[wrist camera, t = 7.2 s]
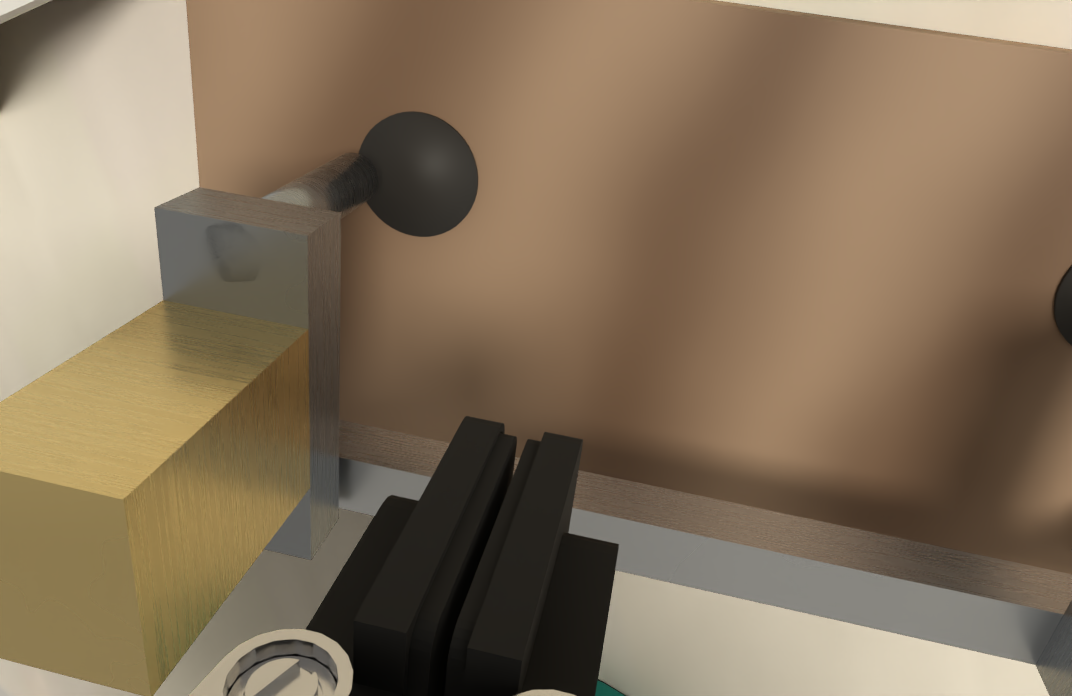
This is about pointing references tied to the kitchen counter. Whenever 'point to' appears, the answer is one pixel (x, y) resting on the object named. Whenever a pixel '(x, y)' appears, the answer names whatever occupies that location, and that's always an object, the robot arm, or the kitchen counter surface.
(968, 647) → the bolt plate
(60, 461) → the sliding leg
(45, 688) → the kitchen counter surface
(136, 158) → the kitchen counter surface
